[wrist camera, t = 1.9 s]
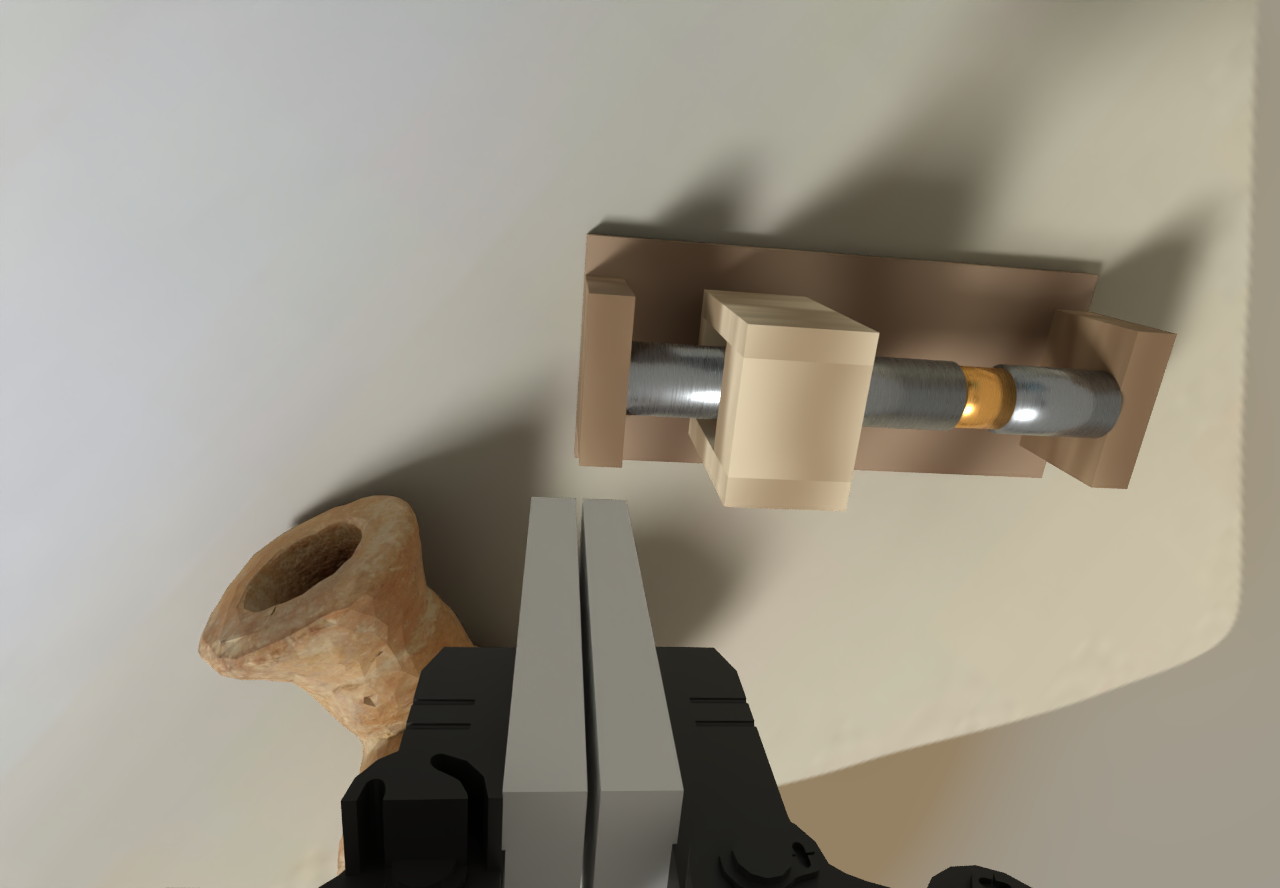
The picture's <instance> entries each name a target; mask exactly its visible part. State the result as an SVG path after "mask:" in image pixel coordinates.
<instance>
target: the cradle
mask: <svg viewBox="0 0 1280 888" xmlns="http://www.w3.org/2000/svg"><path fill="white" fill-rule="evenodd" d="M1097 278H1098V275H1094V274H1089V273H1081V272H1068V271H1055V270H1043V269H1030V268H1018V267H1005V266H992V265H980V264H967V263H954V262H942V261H929V260H916V259H904V258H891V257H878V256H866V255H853V254H841V253H828V252H815V251H803V250H790V249H777V248H765V247H752V246H739V245H727V244H714V243H702V242H689V241H676V240H664V239H651V238H638V237H626V236H613V235H600V234H588V233H587V243H586V260H585V278H584V295H583V313H582V330H581V347H580V365H579V382H578V400H577V417H576V435H575V458H579V466H595V467H619V468H622V460H640V461H663V462H686V463H703V462H702V460H701V458H700V456H699V454H698V452H697V450H696V448H695V446H694V444H693V442H692V440H691V438H690V436H689V434H688V432H689V423H690V418H676V417H657V416H637V415H626V409H627V396H628V384H629V371H630V359H631V346H632V341H638V342H654V343H670V344H686V345H698V341H699V332H700V322H701V313H702V304H703V295H704V289H706V290H720V291H734V292H748V293H762V294H776V295H790V296H804V297H807V298H809V299H811V300H813V301H816V302H818V303H820V304H822V305H824V306H826V307H828V308H830V309H832V310H834V311H836V312H838V313H840V314H842V315H844V316H846V317H848V318H850V319H852V320H854V321H856V322H858V323H860V324H862V325H864V326H867V327H869V328H871V329H873V330H875V331H877V332H879V338H878V344H877V349H876V354H875V356H878V357H894V358H910V359H926V360H942V361H954V362H956V363H957V364H958V365H959V366H973V367H989V368H992V367H994V366H995V365H998V364H1006V365H1022V366H1038V367H1054V368H1071V369H1087V370H1102V371H1106V372H1108V373H1110V374H1111V375H1112V376H1113V377H1114V378H1115V379H1116V381H1117V382H1118V385H1119V387H1120V391H1121V396H1122V405H1121V411H1120V415H1119V418H1118V420H1117V422H1116V424H1115V426H1114V427H1113V428H1112V430H1111V431H1110V432H1109V433H1107V434H1106V435H1105V436H1103V437H1100V438H1096V439H1092V438H1072V437H1052V436H1033V435H1013V434H994V433H991V432H989V431H988V430H986V429H973V428H952V429H951V430H949V431H934V430H914V429H894V428H874V427H862V428H861V433H860V439H859V444H858V449H857V454H856V460H855V465H854V470H870V471H893V472H916V473H940V474H963V475H986V476H1009V477H1032V478H1042V475H1043V472H1044V468H1045V465H1046V461H1047V462H1049V463H1050V464H1052V465H1054V466H1056V467H1057V468H1059V469H1061V470H1062V471H1064V472H1066V473H1067V474H1069V475H1071V476H1073V477H1074V478H1076V479H1078V480H1079V481H1081V482H1083V483H1085V484H1086V485H1088V486H1090V487H1094V488H1118V489H1127V488H1128V484H1129V481H1130V478H1131V475H1132V472H1133V469H1134V466H1135V463H1136V459H1137V456H1138V453H1139V450H1140V447H1141V444H1142V441H1143V438H1144V435H1145V431H1146V428H1147V425H1148V422H1149V419H1150V416H1151V413H1152V410H1153V407H1154V403H1155V400H1156V397H1157V394H1158V391H1159V388H1160V385H1161V382H1162V379H1163V375H1164V372H1165V369H1166V366H1167V363H1168V360H1169V357H1170V354H1171V351H1172V347H1173V344H1174V341H1175V338H1176V335H1177V334H1174V333H1170V332H1166V331H1162V330H1158V329H1154V328H1150V327H1146V326H1142V325H1139V324H1135V323H1131V322H1127V321H1123V320H1119V319H1115V318H1111V317H1107V316H1103V315H1099V314H1095V313H1091V312H1088V311H1089V307H1090V303H1091V300H1092V296H1093V293H1094V289H1095V285H1096V282H1097Z"/></svg>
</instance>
